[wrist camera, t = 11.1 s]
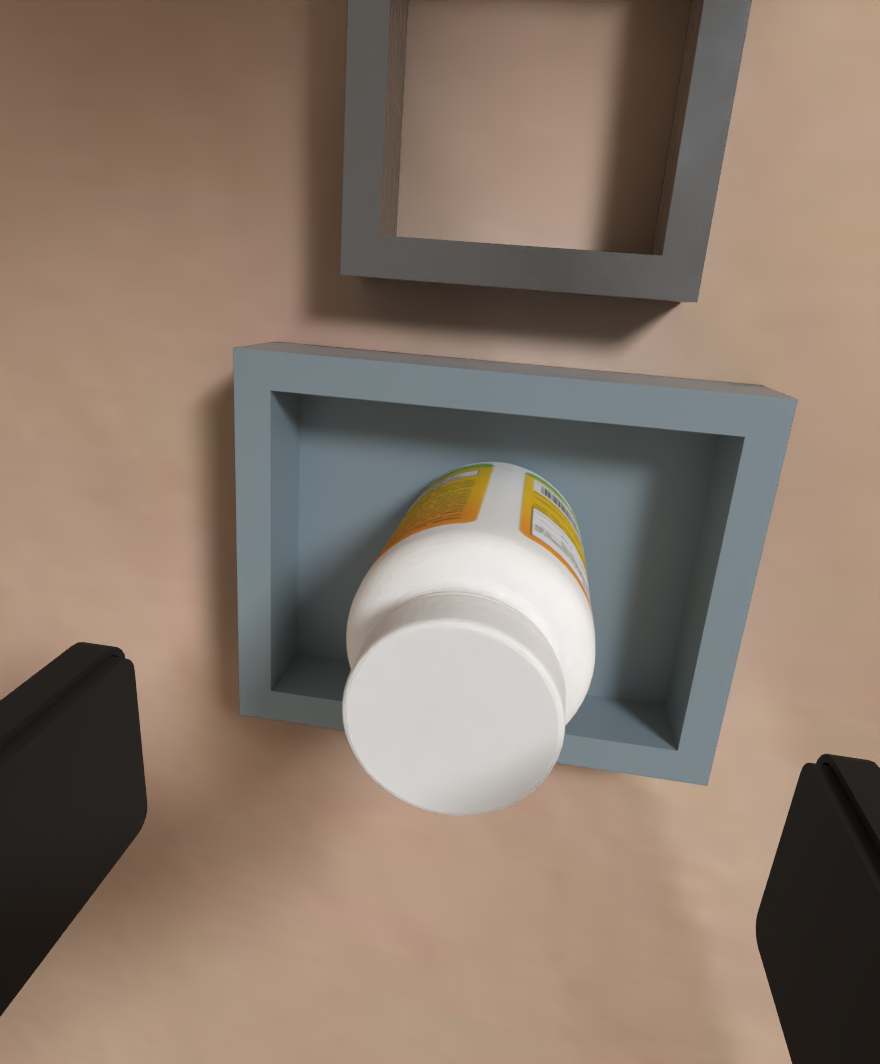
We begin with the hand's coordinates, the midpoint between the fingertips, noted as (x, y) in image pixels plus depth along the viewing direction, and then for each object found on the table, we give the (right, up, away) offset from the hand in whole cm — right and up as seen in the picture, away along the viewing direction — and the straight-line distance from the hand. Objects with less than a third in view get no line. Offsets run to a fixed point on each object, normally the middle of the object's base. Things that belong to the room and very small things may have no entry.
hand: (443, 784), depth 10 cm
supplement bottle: (+2, +3, +12) cm, 12 cm away
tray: (+2, +3, +12) cm, 13 cm away
